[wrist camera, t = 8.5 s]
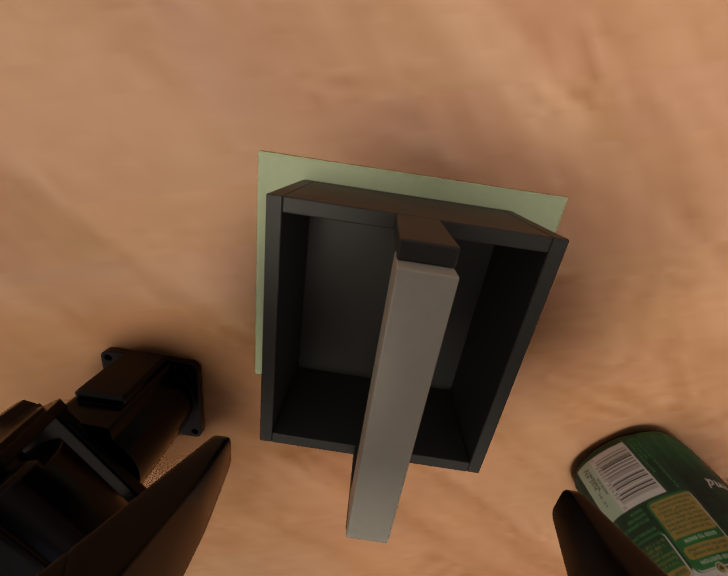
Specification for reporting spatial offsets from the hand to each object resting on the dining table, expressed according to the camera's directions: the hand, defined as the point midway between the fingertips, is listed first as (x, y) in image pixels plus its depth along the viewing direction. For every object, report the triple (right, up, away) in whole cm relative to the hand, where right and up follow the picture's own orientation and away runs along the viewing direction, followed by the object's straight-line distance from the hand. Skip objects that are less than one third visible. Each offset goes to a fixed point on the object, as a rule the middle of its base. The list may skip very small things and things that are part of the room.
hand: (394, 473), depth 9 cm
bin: (+1, +4, +11) cm, 12 cm away
